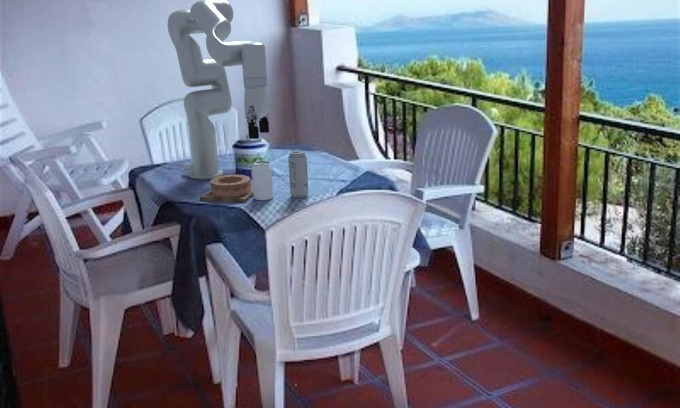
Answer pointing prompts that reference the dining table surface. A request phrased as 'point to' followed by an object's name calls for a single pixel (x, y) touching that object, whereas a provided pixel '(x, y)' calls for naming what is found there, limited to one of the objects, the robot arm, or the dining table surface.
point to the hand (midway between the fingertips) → (259, 135)
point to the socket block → (229, 189)
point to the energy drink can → (298, 174)
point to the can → (262, 180)
